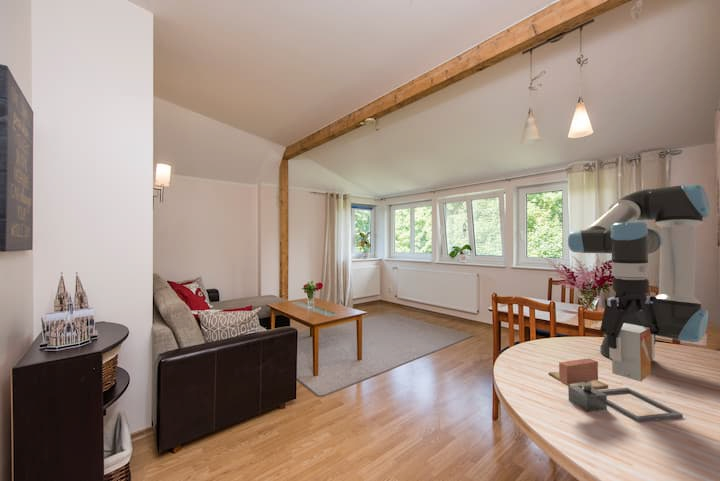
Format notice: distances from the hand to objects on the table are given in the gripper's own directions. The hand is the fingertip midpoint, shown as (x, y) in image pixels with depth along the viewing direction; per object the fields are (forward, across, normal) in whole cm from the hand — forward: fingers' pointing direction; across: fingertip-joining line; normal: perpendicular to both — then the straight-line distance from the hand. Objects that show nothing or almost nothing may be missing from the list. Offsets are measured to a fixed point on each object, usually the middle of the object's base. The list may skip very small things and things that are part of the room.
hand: (632, 357), depth 83 cm
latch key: (+8, -15, +1) cm, 18 cm away
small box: (+5, 0, 0) cm, 5 cm away
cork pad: (+13, -4, +15) cm, 20 cm away
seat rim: (+13, -1, 0) cm, 13 cm away
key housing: (+13, -13, +2) cm, 18 cm away
